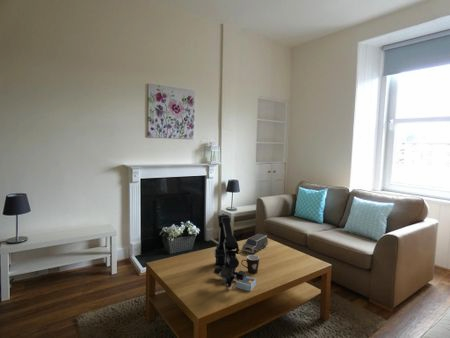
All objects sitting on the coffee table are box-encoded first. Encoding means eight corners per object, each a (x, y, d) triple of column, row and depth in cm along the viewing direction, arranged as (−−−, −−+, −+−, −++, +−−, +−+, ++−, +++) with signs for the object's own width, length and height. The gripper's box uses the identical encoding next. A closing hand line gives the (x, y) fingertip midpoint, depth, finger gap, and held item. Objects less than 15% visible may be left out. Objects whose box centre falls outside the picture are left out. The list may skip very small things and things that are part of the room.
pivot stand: (221, 283, 169) (221, 275, 168) (227, 277, 176) (227, 269, 176) (225, 284, 167) (226, 276, 167) (231, 278, 175) (231, 270, 174)
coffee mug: (260, 269, 187) (260, 255, 186) (258, 275, 179) (258, 260, 178) (243, 267, 190) (243, 253, 189) (240, 273, 182) (241, 258, 181)
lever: (206, 279, 166) (207, 275, 166) (216, 270, 178) (217, 266, 177) (229, 291, 159) (230, 286, 159) (238, 281, 171) (239, 277, 170)
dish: (236, 287, 164) (236, 281, 164) (242, 280, 172) (242, 275, 171) (250, 291, 160) (250, 285, 159) (256, 284, 168) (256, 278, 167)
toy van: (268, 246, 231) (268, 235, 230) (252, 255, 211) (253, 243, 210) (257, 243, 237) (257, 232, 236) (241, 252, 218) (241, 240, 217)
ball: (248, 281, 163) (252, 285, 162) (250, 278, 166) (254, 283, 165) (245, 284, 164) (249, 288, 163) (247, 282, 167) (251, 286, 166)
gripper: (209, 262, 157) (209, 288, 159) (239, 269, 149) (238, 297, 150) (218, 255, 167) (218, 280, 169) (246, 262, 159) (246, 287, 160)
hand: (229, 286), depth 162 cm, fingers closed
